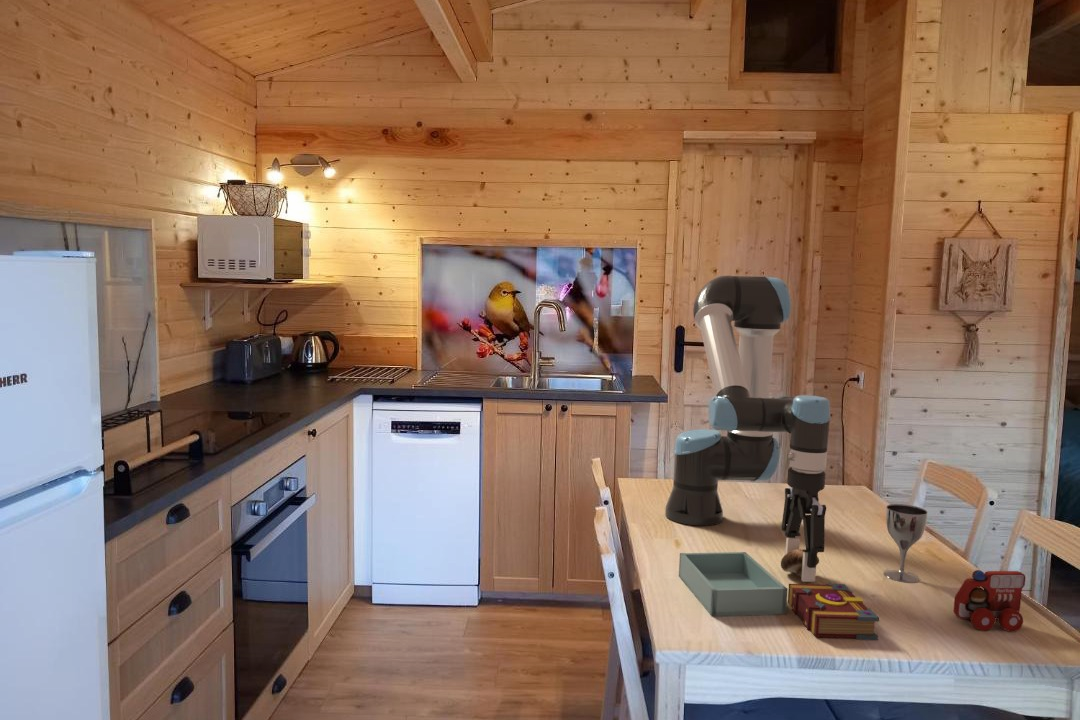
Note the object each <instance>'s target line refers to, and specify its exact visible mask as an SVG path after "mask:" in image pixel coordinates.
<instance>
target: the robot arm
mask: <svg viewBox="0 0 1080 720" xmlns="http://www.w3.org/2000/svg"><path fill="white" fill-rule="evenodd" d="M692 309H693V310H692V311H693V314H692V315H693V319H694V324H695V326H696V327H697V329H699V330H700V333H701V338H702V341H703V346H704V350H705V355H706V359H707V364H708V369H709V374H710V378H711V382H712V387H713V391H714V396H713V397H712V398H711V399H710V401H709V403H708V404H709V405H708V409H707V410H708V412H707V414H708V423H709V425H710V427H711V428H712V429H704V428H703V429H700V428H699V429H692V430H687V431H684V432H681V433H680V434H678V435H677V437H676V439H675V446H674V450H673V453H674V465H673V483H672V484H673V485H672V489H671V492H670V495H669V497H668V500H667V502H666V505H665V509H664V510H665V512H664V516H665V517H666V518H667V519H668V520H670V521H673V522H676V523H678V524H679V523H680V524H683V525H689V526H690V525H691V526H700V527H701V526H704V527H705V526H713V525H718V524H720V523H722V522H723V518H724V511H723V508H722V502H721V499H720V497H719V492H718V490H719V489H718V486H719V485H718V484H719V481H750V482H756V481H758V482H760V481H761V482H762V481H764V482H765V481H767V480H770V479H772V477H773V476H774V475H775V473H776V471H777V469H778V466H779V463H780V462H779V461H780V454H781V452H780V445H779V441H778V440H777V438H775V437H774V436H773V435H774V434H773V433H788V434H790V438H789V453H788V454H787V457H788V466H789V468H788V469H787V480H786V483H787V485H788V486H789V487H786V488H784V505H783V512H782V513H783V514H782V521H781V531H782V532H784V535H785V537H786V540H785V541H786V542H785V554H784V556H785V555H786V554H787V553H788V552H790V551H792V550H797V549H800V542H801V541H800V540H801V539H800V538H801V534H800V528H801V526H802V522H803V534H804V542H805V549H802V550H803V563H802V577H801V580H800V581H801V582H804V583H805V582H808V583H810V582H816V575H817V565H816V563H817V557H818V553H824V552H825V535H826V534H825V529H826V527H825V520H826V519H825V517H826V512H827V506H826V504H821V503H820V502H819V492H820V491H823V490H825V485H826V472H825V470H827V462H828V461H827V459H828V443H829V442H828V441H829V433H830V421H831V418H832V417H831V402H830V400H829V399H828V398H827V397H823V396H818V395H807V394H805V395H804V394H803V395H802V394H800V395H796V396H789V395H788V396H785V395H783V396H780V397H777V398H776V397H775V398H774V397H771V398H770V390H771V380H772V379H771V378H772V377H771V376H772V375H771V374H772V366H773V365H772V362H773V351H774V350H773V349H774V336H775V335H776V334H778V333H779V332H780V331H781V324H784V323H786V322H787V321H788V320H789V318H790V316H789V315H791V297H790V293H789V289H788V287H787V285H786V283H785V281H783V280H782V279H781V278H779V277H770V276H765V275H764V276H752V275H751V276H747V275H746V276H745V275H744V276H743V275H741V276H740V275H721V276H718V277H715V278H712V279H711V280H709V281H708V282H707V283H705V285H704V286H703V287H701V289H700V291H699V292H698V293H697V295H696V298H695V299H694V302H693V308H692ZM732 322H734V325H732ZM733 326H734V327H733ZM733 328H734V329H733ZM734 330H736V331H737V333H738V334H739V338H738V339H739V340H738V344H737V340H736V337H735V333H734ZM720 431H727V433H726V435H725V436H724V435H722V434H721V433H720Z"/></svg>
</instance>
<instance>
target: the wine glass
mask: <svg viewBox="0 0 1080 720" xmlns="http://www.w3.org/2000/svg"><path fill="white" fill-rule="evenodd" d="M885 508H886V509H885V511H886V512H885V522H886V530H887V532H888V534H889V535H890V537H891V539H893V541H894V542H895V543H896V545H897V547H898V548H899V554H900V556H899V557H900V563H899V564H900V566H899V567H900V568H899V570H898V569H889V570H885V571H884V572H883V576H884V577H886V578H887V579H890V580H892V581H897V582H901V583H906V584H907V583H908V584H912V583H918V582H920V577H918V575H916V574H914V573H911V572H908V571H905V562H906V556H907V553H908V550H909V549H910V548H911V547H912V546H913V545H915V544H916V543H917V542H918V541H919V540H921V539H922V537H923V535H924V533H925V530H926V526H927V520H928V511H927V510H926V509H924V508H922V507H920V506H916V505H915V506H914V505H910V504H905V503H904V504H903V503H891V504H887V505H886V507H885Z"/></svg>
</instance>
